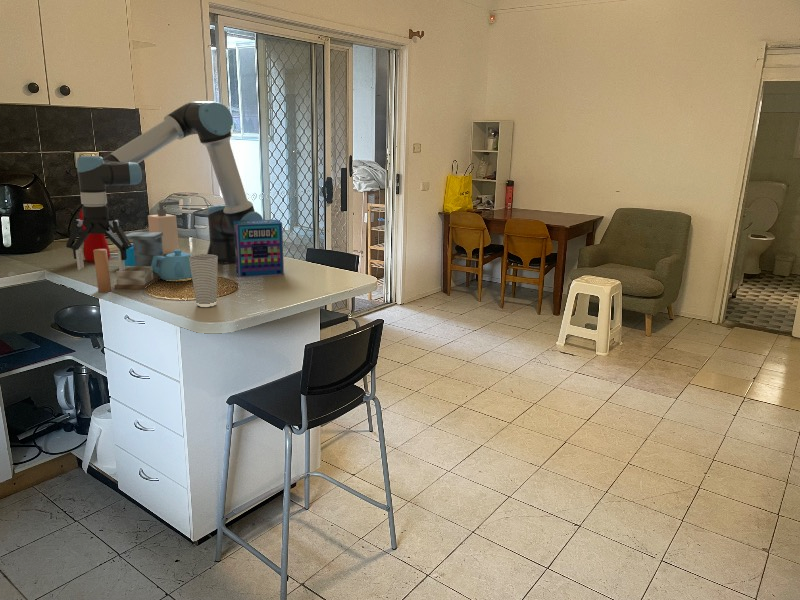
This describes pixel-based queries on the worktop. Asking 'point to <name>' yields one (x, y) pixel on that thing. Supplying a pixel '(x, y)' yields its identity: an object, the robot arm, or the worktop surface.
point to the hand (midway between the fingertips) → (101, 269)
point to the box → (258, 248)
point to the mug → (130, 257)
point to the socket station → (141, 261)
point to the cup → (204, 277)
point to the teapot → (173, 266)
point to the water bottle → (93, 243)
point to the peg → (102, 270)
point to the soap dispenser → (165, 227)
